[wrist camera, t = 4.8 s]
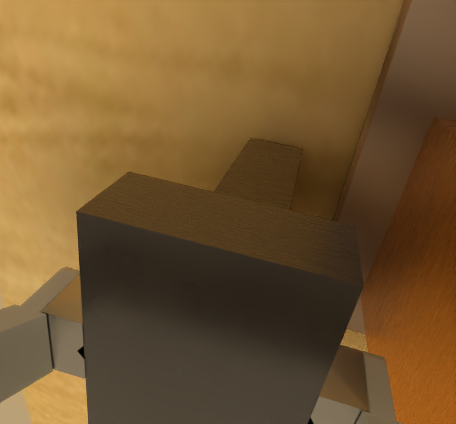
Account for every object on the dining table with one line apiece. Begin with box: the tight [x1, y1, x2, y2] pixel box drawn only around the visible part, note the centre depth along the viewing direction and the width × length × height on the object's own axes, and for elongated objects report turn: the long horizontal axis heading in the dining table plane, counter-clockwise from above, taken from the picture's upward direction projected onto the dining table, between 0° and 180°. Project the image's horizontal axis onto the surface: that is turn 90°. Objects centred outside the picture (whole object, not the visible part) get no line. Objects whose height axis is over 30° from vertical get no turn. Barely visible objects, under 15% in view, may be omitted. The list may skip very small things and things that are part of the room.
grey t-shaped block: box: [76, 138, 364, 424], centre depth 13 cm, size 7×5×12 cm
